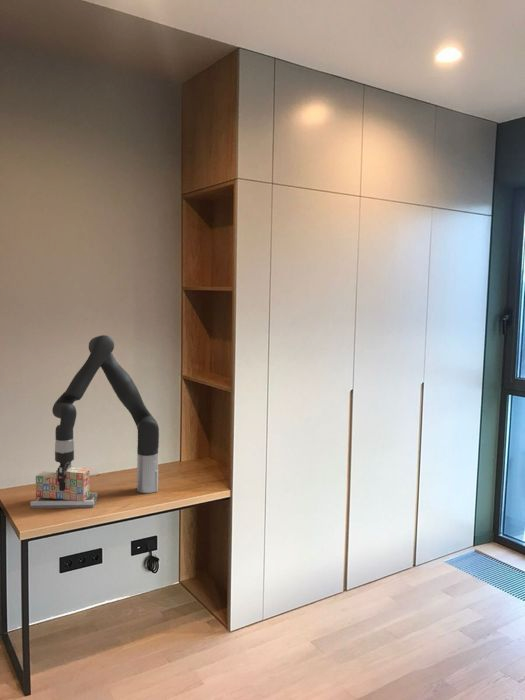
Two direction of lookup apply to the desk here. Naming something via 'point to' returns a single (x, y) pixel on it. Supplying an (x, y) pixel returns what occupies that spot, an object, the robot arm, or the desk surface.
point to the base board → (63, 502)
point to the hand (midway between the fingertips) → (64, 487)
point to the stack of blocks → (74, 485)
